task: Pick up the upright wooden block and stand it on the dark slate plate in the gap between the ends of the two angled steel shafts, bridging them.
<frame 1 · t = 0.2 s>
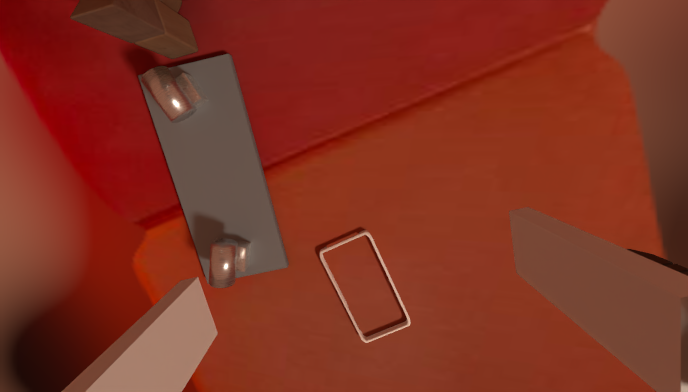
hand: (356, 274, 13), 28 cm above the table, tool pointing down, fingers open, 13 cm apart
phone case: (365, 284, 44), on the table
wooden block: (170, 8, 36), on the table
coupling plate: (220, 176, 40), on the table
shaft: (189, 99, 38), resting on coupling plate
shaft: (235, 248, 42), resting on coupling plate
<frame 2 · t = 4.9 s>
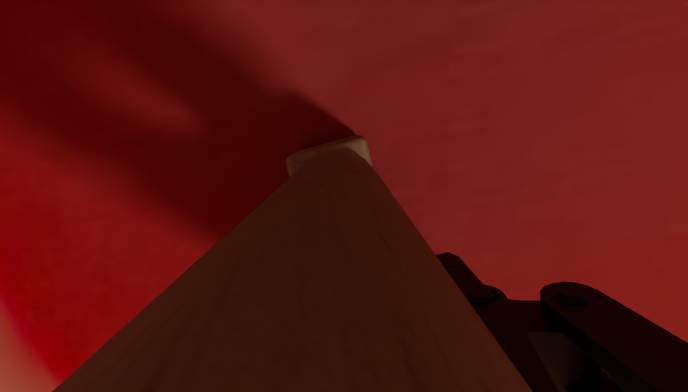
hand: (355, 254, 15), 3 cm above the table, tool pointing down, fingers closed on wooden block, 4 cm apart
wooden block: (354, 234, 18), on the table, touching gripper
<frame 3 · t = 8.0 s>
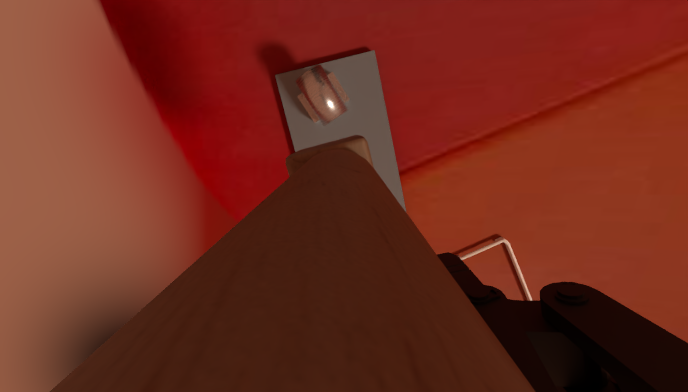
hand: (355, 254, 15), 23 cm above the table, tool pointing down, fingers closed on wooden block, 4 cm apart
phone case: (494, 293, 42), on the table
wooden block: (354, 234, 18), point 20 cm above the table, touching gripper
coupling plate: (351, 181, 38), on the table
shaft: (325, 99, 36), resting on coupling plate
when the fingers open (5 cm above the table, at t = 11.2 s): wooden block drops 1 cm, resting on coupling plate.
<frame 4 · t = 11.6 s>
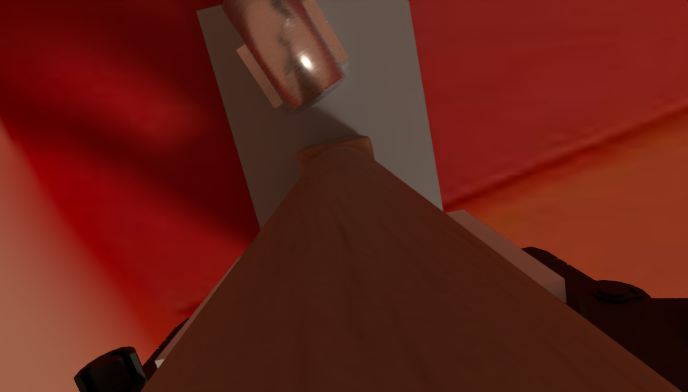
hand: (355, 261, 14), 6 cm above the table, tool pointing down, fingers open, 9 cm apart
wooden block: (353, 227, 19), point 1 cm above the table, touching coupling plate
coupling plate: (352, 223, 20), on the table
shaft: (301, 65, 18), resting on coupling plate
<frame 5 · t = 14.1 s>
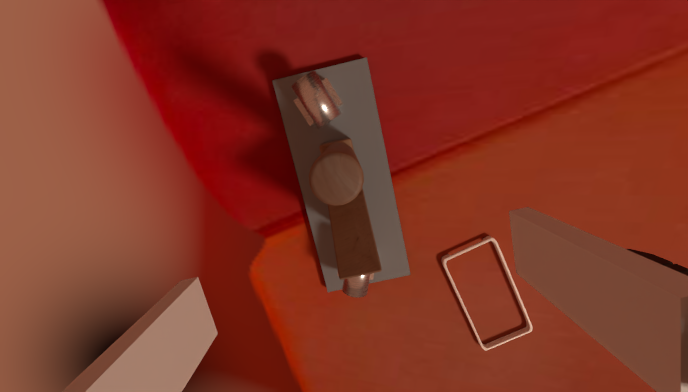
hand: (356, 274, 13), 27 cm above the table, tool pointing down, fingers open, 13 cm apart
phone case: (484, 290, 43), on the table
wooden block: (345, 183, 39), point 1 cm above the table, touching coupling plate
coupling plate: (345, 182, 39), on the table
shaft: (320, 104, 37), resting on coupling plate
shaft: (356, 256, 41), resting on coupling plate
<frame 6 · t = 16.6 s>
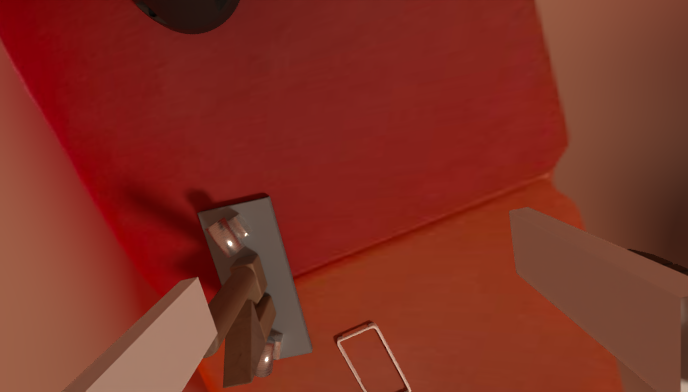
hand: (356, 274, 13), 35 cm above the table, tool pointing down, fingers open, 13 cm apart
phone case: (374, 362, 55), on the table
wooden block: (258, 285, 50), point 1 cm above the table, touching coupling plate
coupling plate: (259, 283, 51), on the table
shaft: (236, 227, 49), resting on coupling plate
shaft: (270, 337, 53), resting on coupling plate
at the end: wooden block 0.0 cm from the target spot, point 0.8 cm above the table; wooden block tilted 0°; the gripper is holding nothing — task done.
